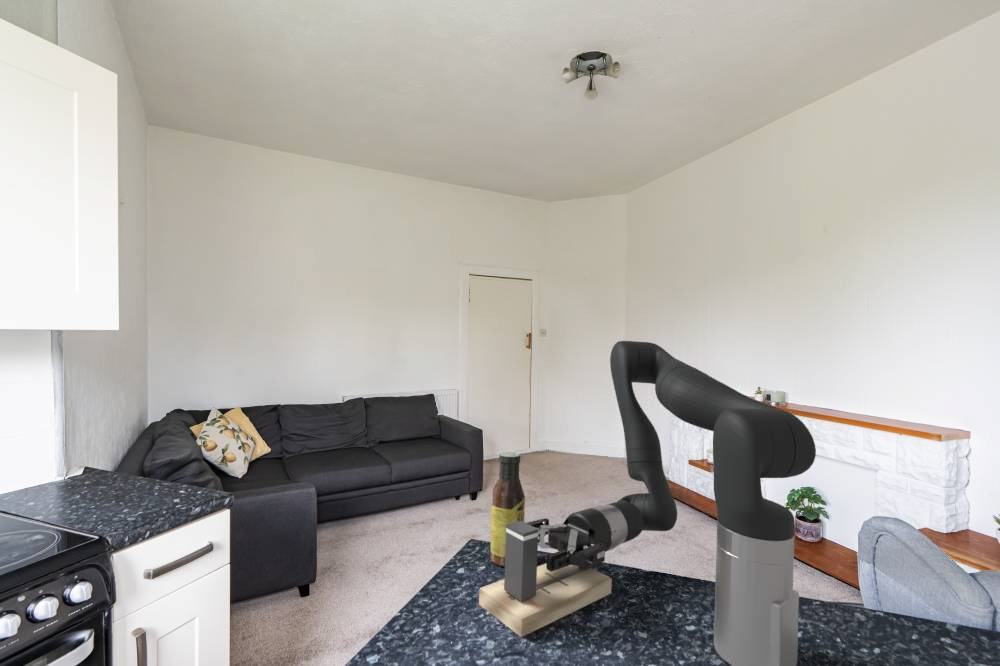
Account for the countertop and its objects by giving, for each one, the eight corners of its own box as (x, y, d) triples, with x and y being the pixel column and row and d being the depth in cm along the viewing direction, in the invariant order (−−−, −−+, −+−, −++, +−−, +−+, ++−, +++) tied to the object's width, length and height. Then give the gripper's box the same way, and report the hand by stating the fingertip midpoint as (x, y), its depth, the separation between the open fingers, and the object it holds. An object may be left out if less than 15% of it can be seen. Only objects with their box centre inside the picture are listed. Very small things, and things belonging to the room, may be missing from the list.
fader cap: (536, 595, 71) (538, 529, 71) (521, 601, 69) (523, 533, 69) (518, 583, 74) (521, 520, 74) (503, 589, 72) (506, 524, 72)
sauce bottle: (523, 569, 85) (527, 459, 85) (488, 567, 85) (493, 458, 85) (522, 553, 91) (526, 451, 92) (490, 551, 91) (494, 450, 92)
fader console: (611, 593, 78) (611, 577, 78) (521, 637, 65) (521, 618, 65) (566, 569, 85) (567, 555, 86) (478, 604, 73) (479, 587, 73)
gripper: (566, 497, 88) (500, 514, 78) (630, 521, 77) (563, 545, 67) (565, 537, 88) (499, 560, 78) (629, 567, 77) (561, 598, 67)
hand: (528, 553), depth 73 cm, fingers open, 8 cm apart
